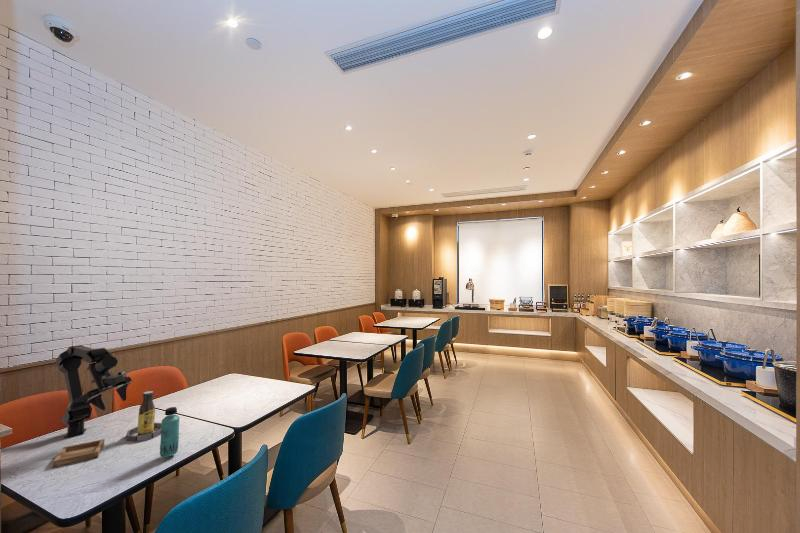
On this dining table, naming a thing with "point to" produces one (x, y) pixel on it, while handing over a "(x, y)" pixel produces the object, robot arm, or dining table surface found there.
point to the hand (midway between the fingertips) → (114, 405)
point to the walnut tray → (78, 453)
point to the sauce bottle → (146, 414)
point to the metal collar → (134, 438)
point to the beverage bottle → (169, 433)
